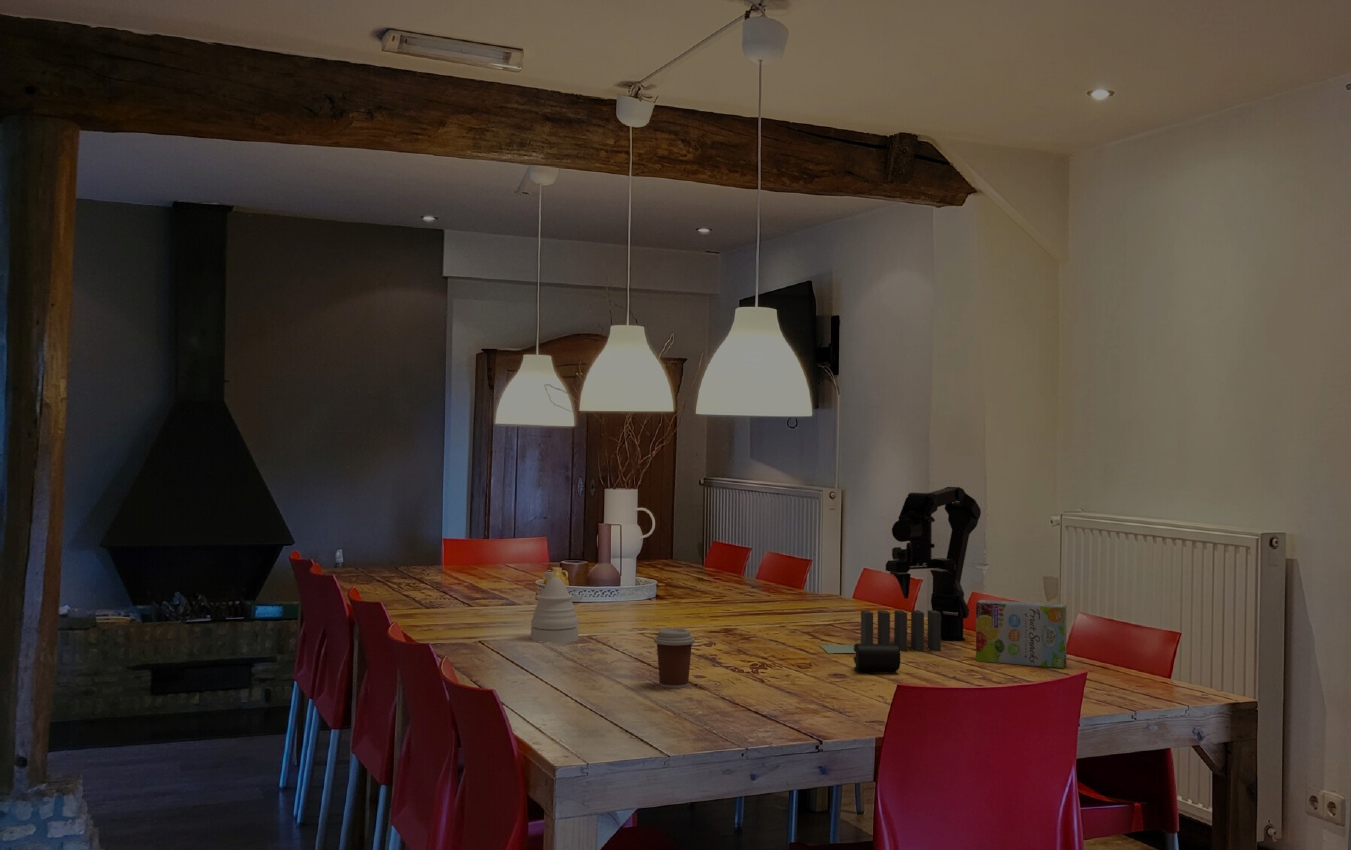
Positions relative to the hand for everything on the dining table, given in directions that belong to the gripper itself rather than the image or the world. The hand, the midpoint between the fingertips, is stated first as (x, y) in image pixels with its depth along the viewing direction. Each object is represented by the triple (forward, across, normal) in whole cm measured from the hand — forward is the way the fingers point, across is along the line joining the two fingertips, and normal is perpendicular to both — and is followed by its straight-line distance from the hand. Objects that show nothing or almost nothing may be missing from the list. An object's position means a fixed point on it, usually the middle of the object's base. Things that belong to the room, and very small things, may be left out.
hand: (920, 597), depth 303 cm
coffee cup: (+12, +81, +25) cm, 86 cm away
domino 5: (+13, +17, 0) cm, 21 cm away
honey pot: (+13, +89, -42) cm, 100 cm away
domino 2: (+13, +8, +3) cm, 16 cm away
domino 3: (+13, +4, +4) cm, 14 cm away
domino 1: (+13, +12, +2) cm, 18 cm away
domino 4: (+13, 0, +6) cm, 14 cm away
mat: (+13, +24, -2) cm, 27 cm away
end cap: (+13, +30, +26) cm, 42 cm away
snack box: (+13, -10, +29) cm, 33 cm away
